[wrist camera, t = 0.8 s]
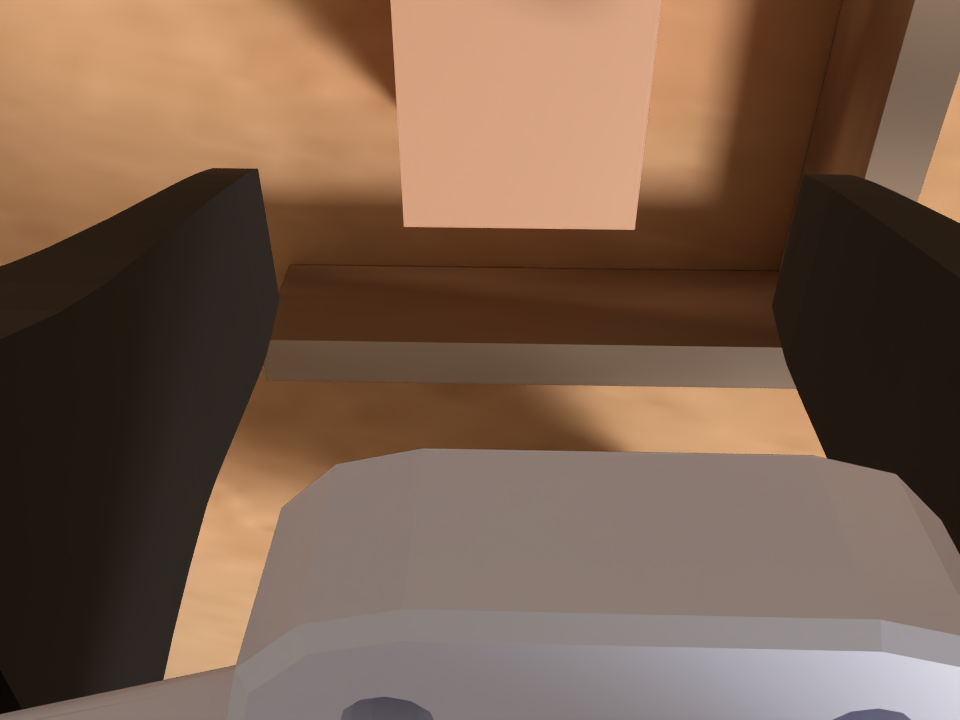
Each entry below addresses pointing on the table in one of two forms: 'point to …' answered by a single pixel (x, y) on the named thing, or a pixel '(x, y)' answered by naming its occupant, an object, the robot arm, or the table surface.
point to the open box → (629, 292)
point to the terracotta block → (523, 111)
